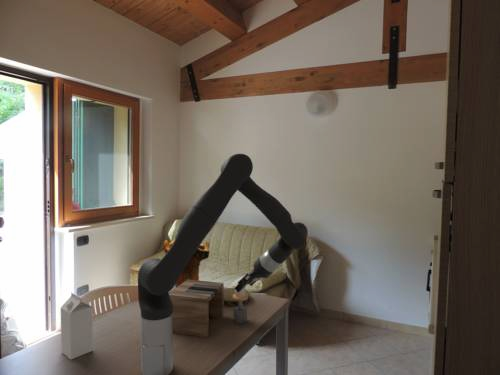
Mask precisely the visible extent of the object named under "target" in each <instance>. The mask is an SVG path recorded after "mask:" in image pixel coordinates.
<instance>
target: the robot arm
mask: <svg viewBox="0 0 500 375" xmlns="http://www.w3.org/2000/svg"><path fill="white" fill-rule="evenodd" d="M253 168H254V165H253V161H252V159H251V157H250V156H249V155H247V154H244V153H236V154H232V155H231V156H230V157H228V158H227V159H226V160H224V162H222V164H221V167H220V173H219V176H218V177H217V178H216V179H215V181H214V182H213V184H212V185H211V186H209V188H208V189H207V190H205V192H204V193H202V195H200V196H199V197H198V198H197V200H196V201H195V202H194V203H193V204H192V206H191V207H190V208H189V209H188V210H187V212H186V213H185V214H184V216H183V217H182V219H181V221H180V224H179V226H178V229H177V231H176V232H177V233H176V235H175V238H174V239H175V240H174V239H173V240H174V243H173V244H172V246H171V248H170V249H169V250H168V252H167V253H166V254H164V256H163V257H162V258H161V259H160V258H156V257H154V258H150V259H147V260H145V261H144V262H143V263H142V264H141V265H140V267H139V269H138V274H137V292H138V293H137V294H138V295H137V298H138V299H137V300H138V305H139V309H140V350H141V351H140V357H141V358H140V363H141V364H140V365H141V366H140V367H141V369H140V370H141V371H140V373H141V375H170V374H171V373H172V372H173V370H174V332H173V304H172V301H171V299H170V296H169V292H171V291H172V290H173V289H174V288H175V287H176V286H175V284H176V283H177V281H178V279H179V277H180V276H181V274H182V272H183V270H184V269H185V267H186V265H187V263H188V262H189V260H190V258H191V257H192V255H193V254H194V253H195V251H196V250H197V248H198V247H199V246H200V244H203V243H202V242H203V241H204V239H205V238H206V237H207V236H208V235H209V233H210V232H211V230H212V229H213V228H214V226H215V225H216V223H217V221H218V220H219V219H220V217H221V216H222V214H223V212H224V211H225V209H226V208H227V206H228V205H229V203H230V201H231V199H233V197H234V195H235V194H236V192H239V193H241V195H243V196H244V197H245V198H246V199H247V200H249V201H250V202H251V203H252V204H253V205H254V206H255V207H256V209H258V210H259V211H260V212H261V213H262V214H263V215H264V217H265V218H267V219H266V220H268V221H269V222H270V223H271V225H273V226H274V227H275V229H276V231H277V233H278V234H279V236H280V237H279V238H278V240H277V241H276V242H274V243H273V244H272V245H271V246H270V247H269V248H268V249H267V250H265V251H264V253H262V254H261V255H260V256H259V257H258V258H257V259H256V260H255V261H254V262H253V265H252V266H253V269H252V270H250V271H249V272H247V273H246V274H245V275H244V276H243V277H242V278H241V279H239V280H240V281H238V280H237V281H238V285H237V286H236V287H234V288H235V289H236V291H237V292H240V291H241V290H242V289H243V288H244V287H245V288H246V286H250V287H252V286H254V285H255V284H256V283H257V282H258V281H260V280H262V279H268V278H269V277H270V276H272V274H274V272H276V271H277V270H278V269H279V268H280V266H282V264H284V262H286V261H287V260H288V259H289V258H290V257H291V255H292V252H293V251H294V250H297V251H298V250H301V249H303V248H304V247H305V246H306V244H307V239H308V234H309V233H308V228H307V226H306V224H305V223H303V222H300V221H299V222H298V221H297V222H294V221H293V219H292V215H291V213H290V211H289V210H287V208H286V207H285V206H284V205H283V204H282V203H281V201H279V200H278V199H277V198H276V197H275V196H273V195H272V194H270V193H269V192H267V191H266V190H265V189H264V188H262V187H261V186H260V185H259V184H257V183H256V182H255V181H254V179H252V178H251V176H252V173H253Z"/></svg>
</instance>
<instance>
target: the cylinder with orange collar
mask: <svg viewBox="0 0 500 375" xmlns="http://www.w3.org/2000/svg"><path fill="white" fill-rule="evenodd" d="M240 280H241V279H239V280H235V283H234V284H235V287H236V286H237V285H238V281H240ZM235 287H234V288H235ZM245 290H246V286H245V287H244V288H243V289H242V290H241V291H240V292H237V291H236V289H235V294H233V299H234V300H236V301H238V306H235V307H234V308H233V323H234V324H235V325H244V324H247V308H246V307H244V305H243V301H244V300H247V299H248V295H247V294H245Z"/></svg>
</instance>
